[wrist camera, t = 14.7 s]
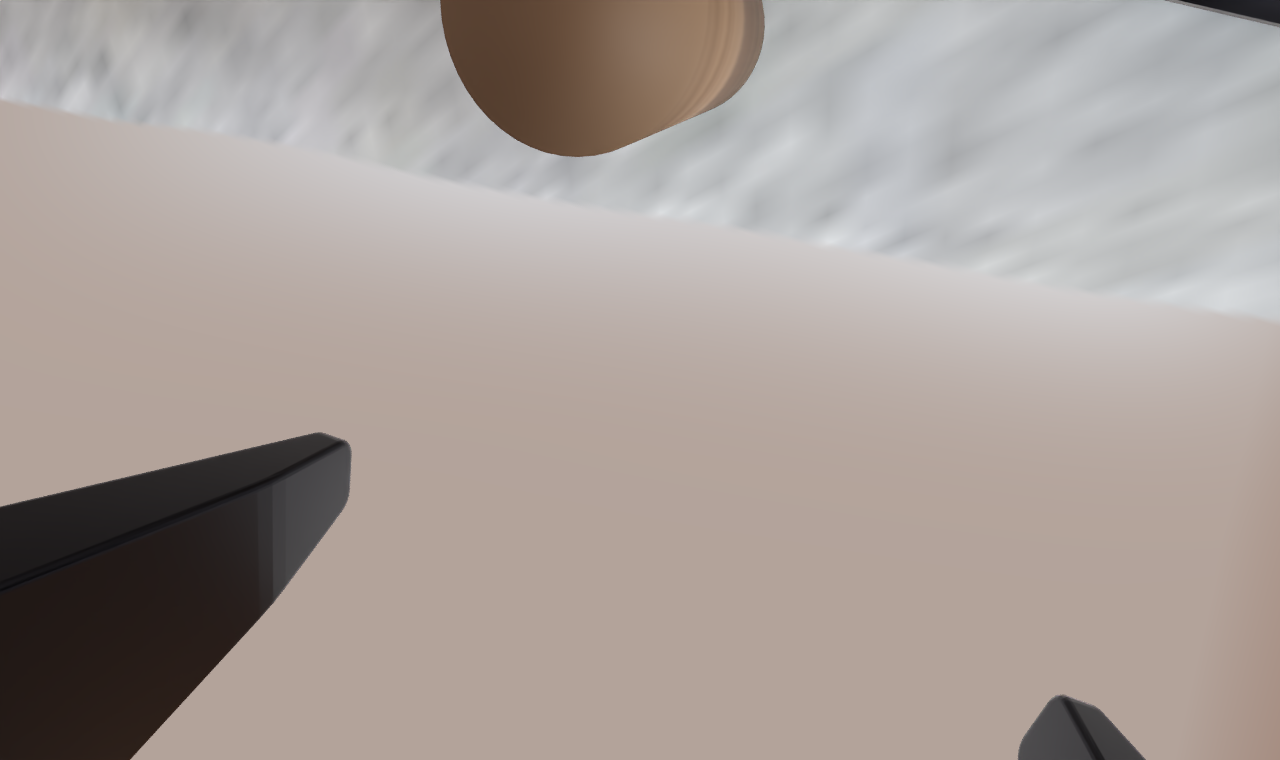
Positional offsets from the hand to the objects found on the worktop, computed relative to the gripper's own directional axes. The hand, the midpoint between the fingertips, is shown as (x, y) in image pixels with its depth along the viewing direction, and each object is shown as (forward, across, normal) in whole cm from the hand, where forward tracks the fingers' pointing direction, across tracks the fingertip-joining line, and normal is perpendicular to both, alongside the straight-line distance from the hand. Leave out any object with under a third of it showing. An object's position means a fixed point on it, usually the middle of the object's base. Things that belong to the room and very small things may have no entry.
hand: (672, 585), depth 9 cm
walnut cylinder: (+13, +4, -6) cm, 15 cm away
